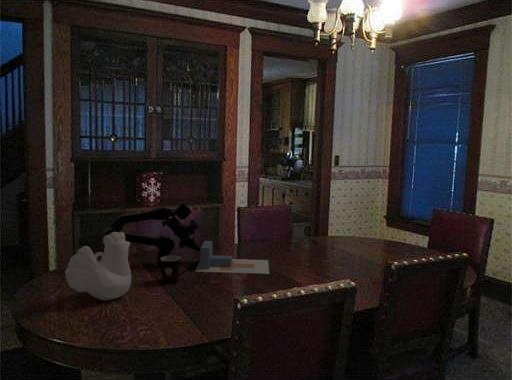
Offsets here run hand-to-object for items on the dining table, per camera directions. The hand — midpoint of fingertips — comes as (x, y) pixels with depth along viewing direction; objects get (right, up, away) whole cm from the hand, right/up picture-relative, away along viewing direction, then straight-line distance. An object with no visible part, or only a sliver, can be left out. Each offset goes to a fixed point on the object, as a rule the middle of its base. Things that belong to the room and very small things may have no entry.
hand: (199, 250), depth 205 cm
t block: (+8, -7, 0) cm, 11 cm away
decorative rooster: (-32, -12, -44) cm, 56 cm away
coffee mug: (-8, -10, -24) cm, 27 cm away
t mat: (+16, -8, +1) cm, 18 cm away
